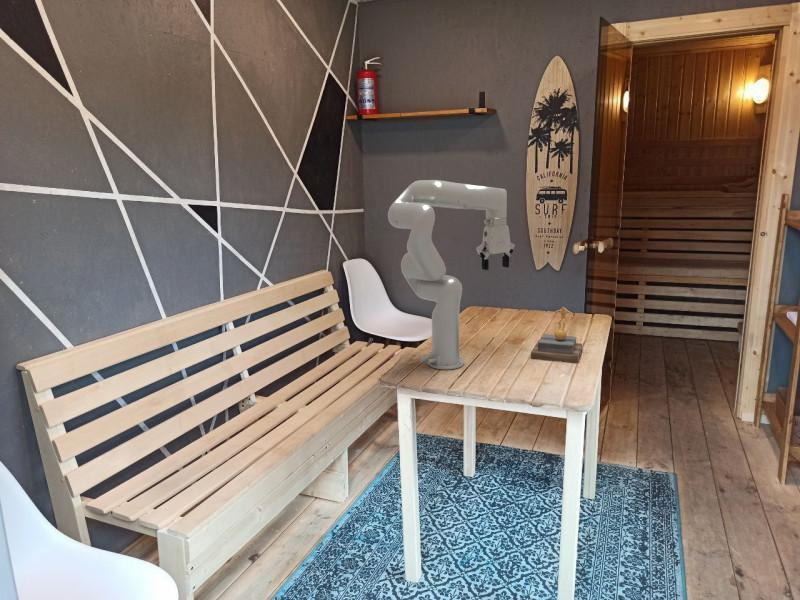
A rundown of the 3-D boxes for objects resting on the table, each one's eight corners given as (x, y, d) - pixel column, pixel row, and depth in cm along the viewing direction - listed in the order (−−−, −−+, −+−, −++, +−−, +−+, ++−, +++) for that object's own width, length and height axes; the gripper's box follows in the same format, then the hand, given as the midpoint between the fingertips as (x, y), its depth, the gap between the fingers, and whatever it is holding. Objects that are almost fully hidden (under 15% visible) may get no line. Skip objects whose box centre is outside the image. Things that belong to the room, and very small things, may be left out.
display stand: (577, 363, 195) (578, 348, 194) (530, 358, 202) (531, 343, 200) (581, 350, 210) (582, 335, 209) (538, 346, 216) (538, 332, 215)
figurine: (547, 339, 205) (548, 307, 202) (553, 335, 209) (554, 304, 207) (569, 343, 200) (571, 310, 197) (575, 339, 205) (576, 306, 202)
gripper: (483, 224, 201) (483, 272, 204) (520, 221, 209) (519, 267, 212) (470, 223, 207) (470, 269, 211) (507, 220, 215) (507, 264, 219)
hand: (495, 268), depth 211 cm, fingers open, 9 cm apart
